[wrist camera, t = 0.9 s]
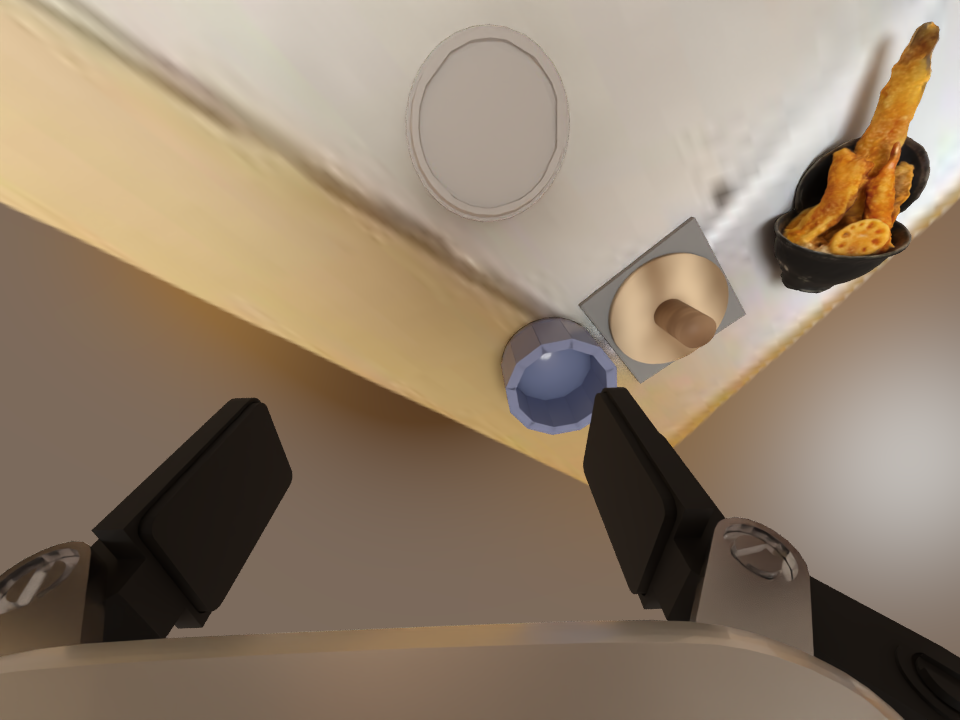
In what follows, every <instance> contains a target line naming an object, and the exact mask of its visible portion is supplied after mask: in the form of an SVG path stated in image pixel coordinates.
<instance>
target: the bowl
mask: <svg viewBox="0 0 960 720" xmlns="http://www.w3.org/2000/svg"><path fill="white" fill-rule="evenodd" d="M501 368H502V373H503V378H504V383H505V388H506V393H507V398H508V403H509V408H510V412H511V413H512V414H513V415H514V416H515V417H516V418H517V419H518V420H519V421H520V422H521V423H522V424H523V425H524V426H525V427H526V428H528V429H531V430H535V431H539V432H544V433H548V434H552V435H554V434H560V433H565V432H571V431H576V430H580V429H582V428H583V427H585V426H587V425H588V424H590V422H591V416H592V411H593V405H594V399H595V395H596V394H597V393H601V391H602V389H603V388H613V387H617V367H616V366H615V365H614V363H613V362H612V361H611V360H610V358H609V357H608V356H607V355H606V353H605V352H604V351H603V350H602V348H601V347H600V346H599V345H598V343H597V342H596V341H595V340H594V339H593V337H592V336H591V335H590V334H589V332H588V331H587V330H586V329H585V328H584V327H582V326H581V325H579V324H578V323H576V322H574V321H571V320H568V319H564V318H545V319H540V320H537V321H534V322H532V323H530V324H528V325H526V326H524V327H523V328H521V329H520V330H519V331H518V332H517V333H515V334H514V336H513V337H512V338H511V339H510V341H509V342H508V344H507V345H506V348H505V350H504V353H503V356H502V363H501Z"/></svg>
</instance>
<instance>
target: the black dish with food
mask: <svg viewBox="0 0 960 720" xmlns="http://www.w3.org/2000/svg"><path fill="white" fill-rule="evenodd" d="M938 40H939V27H938V26H936V25H935V24H934V23H933V22H927V23H924V24H923V25H921V26H920V27H918V28H917V29H916V31H915V33H914V34H913V36H912V38H911V40H910V43H909V44H908V46H907V47H906V48H905V50H904V51H903V53H902V55H901V57H900V60H899V61H898V62H897V63H896V64H895V65H894V66H893V68H892V74H891V78H890V80H889V82H888V83H887V84H886V86H885V87H884V88H883V89H882V90H881V93H880V98H879V102H878V105H877V108H876V111H875V113H874V116H873V118H872V120H871V123H870V125H869V127H868V128H867V130H866V131H865V133H864V134H863V136H862V137H861V138H858V139H854V140H850V141H848V142H846V143H844V144H842V145H840V146H838V147H836V148H835V149H833V150H832V151H830V152H828V153H827V154H826V155H824V156H822V157H821V158H820V159H818V160H817V161H816V162H815V163H814V164H813V165H812V166H811V167H810V168H809V169H808V170H807V172H806V173H805V174H804V176H803V178H802V179H801V181H800V183H799V185H798V187H797V191H796V198H795V210H792V211H790V212H788V213H786V214H784V215H782V216H780V217H779V218H778V219H777V220H776V222H775V226H774V230H775V233H776V235H777V237H776V239H775V243H774V250H775V257H776V258H777V259H778V262H779V265H780V267H781V269H782V271H783V273H782V274H781V277H782V282H783V284H784V285H785V286H786V287H787V288H790V289H794V290H799V291H802V292H808V293H820V292H823V291H825V290H828V289H830V288H831V287H832V286H834V285H837V284H841V283H845V282H848V281H851V280H853V279H856V278H858V277H860V276H862V275H864V274H866V273H868V272H870V271H871V270H873V269H874V268H875V267H877V266H878V265H880V264H881V263H882V262H883V261H884V260H885V259H887V258H888V257H890V256H893V255H896V254H898V253H900V252H902V251H903V250H905V249H906V248H907V247H908V245H909V243H910V241H911V234H910V232H909V231H908V229H907V228H906V227H905V226H904V225H903V224H901V223H900V222H898V221H896V217H897V216H898V214H899V213H901V212H903V211H905V210H906V209H907V208H908V207H909V206H910V205H911V204H912V203H913V202H914V201H915V200H917V199H918V198H919V197H920V194H921V193H922V191H923V190H924V188H925V186H926V184H927V180H928V178H929V173H930V167H929V158H928V155H927V152H926V151H925V149H924V147H923V146H922V145H920V144H919V143H917V142H915V141H914V140H912V139H911V138H909V137H907V132H908V126H909V123H910V121H911V120H912V119H913V116H914V113H915V111H916V108H917V106H918V104H919V103H920V100H921V98H922V95H923V92H924V89H925V86H926V84H927V82H928V80H929V79H930V76H931V72H932V69H931V56H932V52H933V50H934V48H935V46H936V44H937V42H938Z"/></svg>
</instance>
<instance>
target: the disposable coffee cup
mask: <svg viewBox="0 0 960 720" xmlns="http://www.w3.org/2000/svg"><path fill="white" fill-rule="evenodd" d="M569 122H570V120H569V110H568V101H567V97H566V92H565V89H564V86H563V83H562V80H561V78H560V76H559V74H558V72H557V70H556V68H555V66H554V64H553V62H552V61H551V60H550V58H549V57H548V56H547V55H546V53H545V52H544V51H543V50H542V49H541V47H540V46H538V45H537V44H536V43H535V42H533V41H532V40H531V39H530V38H528V37H527V36H526V35H524V34H522V33H519V32H517V31H515V30H513V29H510V28H508V27H504V26H497V25H490V24H488V25H479V26H472V27H469V28H466V29H464V30H461V31H458V32H456V33H454V34H453V35H451V36H450V37H448V38H447V39H445V40H444V41H442V42H441V43H440V44H439V45H438V46H437V47H436V48H435V49H434V50H433V51H432V52H431V53H430V54H429V56H428V57H427V59H426V60H425V61H424V63H423V64H422V66H421V67H420V69H419V71H418V73H417V75H416V78H415V80H414V82H413V85H412V88H411V91H410V94H409V99H408V105H407V112H406V136H407V142H408V148H409V153H410V156H411V159H412V162H413V165H414V168H415V170H416V172H417V174H418V176H419V178H420V180H421V182H422V183H423V185H424V186H425V187H426V189H427V190H428V191H429V193H430V194H431V195H432V196H433V197H434V198H435V199H436V200H437V201H438V202H439V203H440V204H441V205H443V206H444V207H445V208H447V209H448V210H450V211H451V212H453V213H455V214H457V215H459V216H462V217H464V218H467V219H472V220H477V221H482V222H484V221H499V220H503V219H507V218H511V217H513V216H515V215H517V214H519V213H521V212H523V211H525V210H526V209H528V208H529V207H530V206H532V205H533V204H534V203H535V202H537V201H538V200H539V199H540V198H541V197H542V195H543V194H544V193H545V192H546V191H547V189H548V188H549V187H550V186H551V184H552V182H553V181H554V179H555V177H556V175H557V173H558V172H559V170H560V167H561V164H562V162H563V159H564V156H565V153H566V148H567V143H568V137H569Z"/></svg>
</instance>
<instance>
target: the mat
mask: <svg viewBox="0 0 960 720" xmlns="http://www.w3.org/2000/svg"><path fill="white" fill-rule="evenodd" d="M670 253H691V254H694V255H698V256H701V257H704V258H706V259H708V260H710V261H712V262H713V263H714V264H716V265H717V266H718V267H719V268H720V270H721V271H722V273H723V274H724V272H723V270H722V268H721V266H720V264H719V262H718V260H717V258H716V256H715V255H714V253H713V251H712V249H711V247H710V245H709V243H708V241H707V239H706V238H705V236H704V234H703V232H702V230H701V228H700V226H699V224H698V222H697V221H696V219H695V218H694V217H691V218H689V219H688V220H687V221H686V222H684V223H683V224H682V225H680V226H679V227H678V228H677V229H675V230H674V231H673V232H671V233H670V234H669V235H668V236H666V237H665V238H664V239H662V240H661V241H660V242H659V243H657V244H656V245H655V246H653V247H652V248H651V249H650V250H648V251H647V252H646V253H644V254H643V255H642V256H641V257H639V258H638V259H637V260H635V261H634V262H633V263H632V264H630V265H629V266H628V267H626V268H625V269H624V270H623V271H621V272H620V273H619V274H617V275H616V276H615V277H614V278H612V279H611V280H610V281H608V282H607V283H606V284H605V285H603V286H602V287H601V288H599V289H598V290H597V291H596V292H594V293H593V294H592V295H590V296H589V297H588V298H587V299H585V300H584V301H583V302H581V303H580V304H579V306H580V307H581V308H582V310H583V311H584V312H585V313H586V315H587V316H588V317H589V319H590V320H591V321H592V322H593V324H594V325H595V326H596V328H597V329H598V330H599V331H600V333H601V334H602V335H603V337H604V338H605V339H606V340H607V342H608V343H609V344H610V346H611V347H612V348H613V349H614V351H615V352H616V353H617V354H618V356H619V357H620V358H621V360H622V361H623V362H624V363H625V365H626V366H627V367H628V369H629V370H630V371H631V372H632V374H633V375H634V376H635V378H636V379H637V380H638V381H639V383H640V384H641V383H642V382H644V381H645V380H647V379H648V378H650V377H651V376H653V375H654V374H656V373H657V372H659V371H660V370H662V369H664V368H665V367H667V366H668V365H670V364H671V363H673V362H674V361H672V362H668V363H662V364H647V363H642V362H638V361H636V360H633V359H631V358H630V357H628V356H627V355H626V354H624V353H623V352H622V351H621V350H620V348H619V347H618V346H617V345H616V344H615V342H614V341H613V339H612V337H611V334H610V330H609V324H608V317H609V310H610V306H611V303H612V300H613V298H614V296H615V293H616V292H617V290H618V288H619V287H620V285H621V284H622V283H623V281H624V280H625V279H626V278H627V277H628V276H629V275H630V274H631V273H632V272H633V271H634V270H636V269H637V268H638V267H640V266H641V265H642V264H644V263H646V262H648V261H649V260H651V259H654V258H656V257H659V256H662V255H665V254H670ZM724 276H725V278H726V281H727V285H728V292H729V297H728V305H727V309H726V312H725V315H724V317H723V319H722V321H721V323H720V325H719V327H718V328H717V330H716V332H715V334H717V333H718V332H720V331H721V330H723V329H724V328H726V327H727V326H729V325H730V324H732V323H734V322H735V321H737V320H738V319H740V318H741V317H743V316H744V315H746V313H745V311H744V309H743V308H742V306H741V304H740V302H739V300H738V298H737V296H736V294H735V292H734V291H733V289H732V287H731V285H730V283H729V281H728V279H727V277H726V275H725V274H724ZM675 361H676V360H675Z"/></svg>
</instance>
